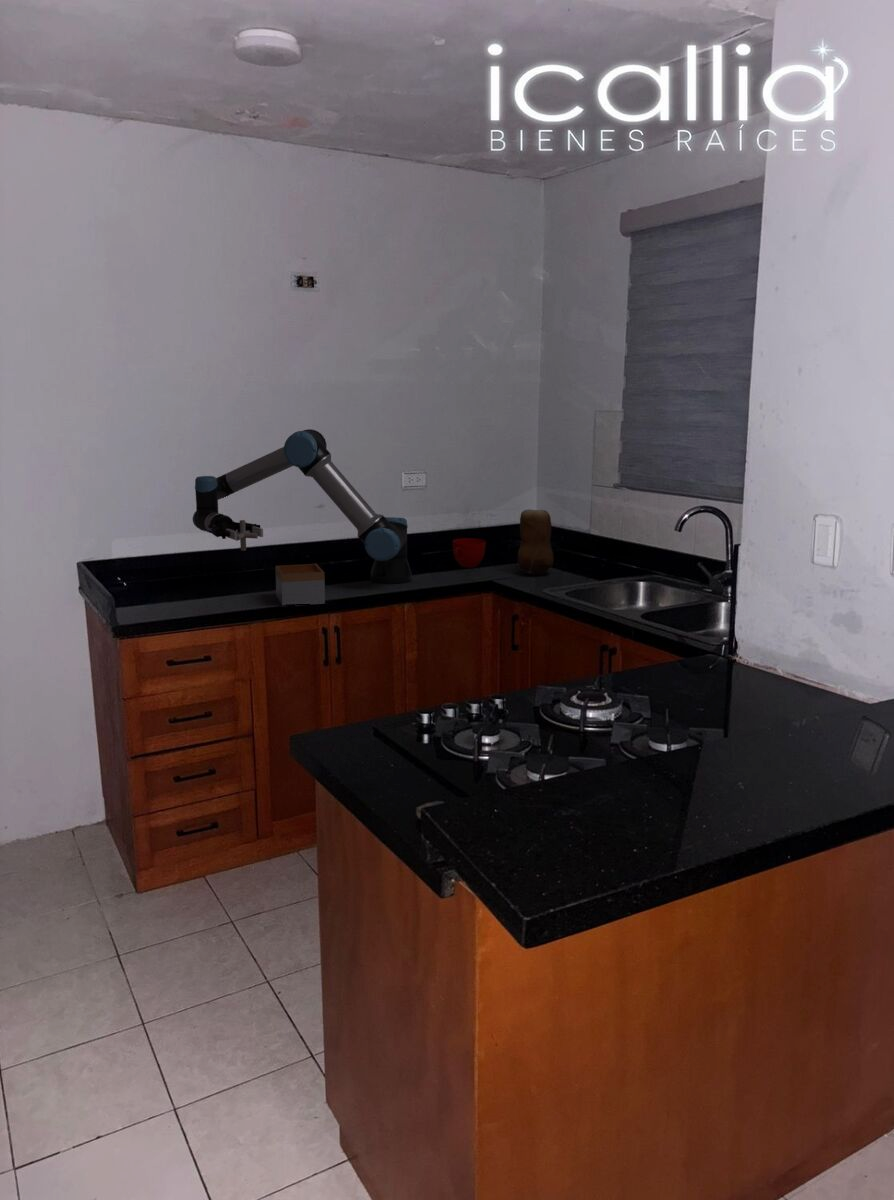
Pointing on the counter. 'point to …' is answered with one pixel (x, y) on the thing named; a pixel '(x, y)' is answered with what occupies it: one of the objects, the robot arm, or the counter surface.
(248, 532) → the pipe connector
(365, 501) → the robot arm
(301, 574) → the grey box
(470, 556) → the ceramic cup
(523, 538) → the butternut squash
